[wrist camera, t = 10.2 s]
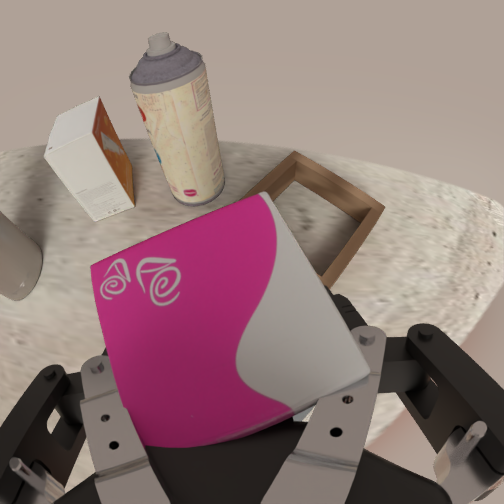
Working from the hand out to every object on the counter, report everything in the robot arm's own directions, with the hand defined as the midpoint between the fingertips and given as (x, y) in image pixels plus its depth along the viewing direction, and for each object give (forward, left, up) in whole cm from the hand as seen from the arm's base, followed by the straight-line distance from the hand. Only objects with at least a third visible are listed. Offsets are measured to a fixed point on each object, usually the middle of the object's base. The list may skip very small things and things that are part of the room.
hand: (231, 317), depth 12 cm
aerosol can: (-18, +11, -15) cm, 26 cm away
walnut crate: (-4, +14, -15) cm, 21 cm away
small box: (-27, +3, -15) cm, 31 cm away
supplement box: (+1, -1, -6) cm, 6 cm away
